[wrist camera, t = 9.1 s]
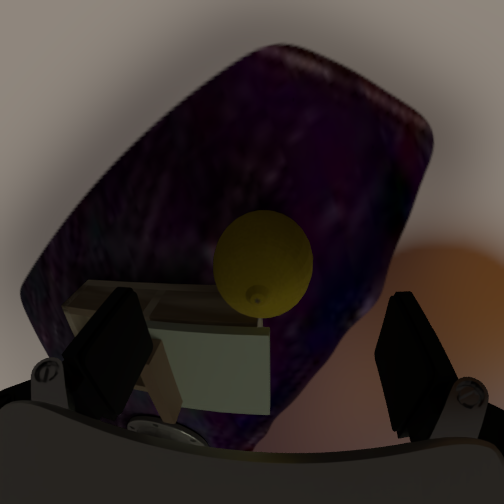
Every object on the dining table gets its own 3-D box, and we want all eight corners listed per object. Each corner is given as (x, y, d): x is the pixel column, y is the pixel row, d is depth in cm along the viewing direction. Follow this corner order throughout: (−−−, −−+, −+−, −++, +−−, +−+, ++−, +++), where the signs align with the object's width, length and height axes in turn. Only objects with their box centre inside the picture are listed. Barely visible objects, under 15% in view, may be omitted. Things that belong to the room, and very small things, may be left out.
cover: (270, 407, 20) (267, 439, 18) (173, 398, 21) (163, 426, 18) (269, 327, 17) (266, 364, 14) (145, 320, 18) (126, 351, 15)
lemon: (218, 206, 19) (179, 256, 12) (298, 189, 18) (310, 231, 11) (239, 276, 21) (218, 351, 14) (312, 263, 20) (326, 337, 13)
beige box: (263, 367, 25) (260, 404, 21) (115, 351, 27) (97, 379, 23) (261, 285, 21) (256, 322, 17) (88, 279, 23) (61, 305, 19)
